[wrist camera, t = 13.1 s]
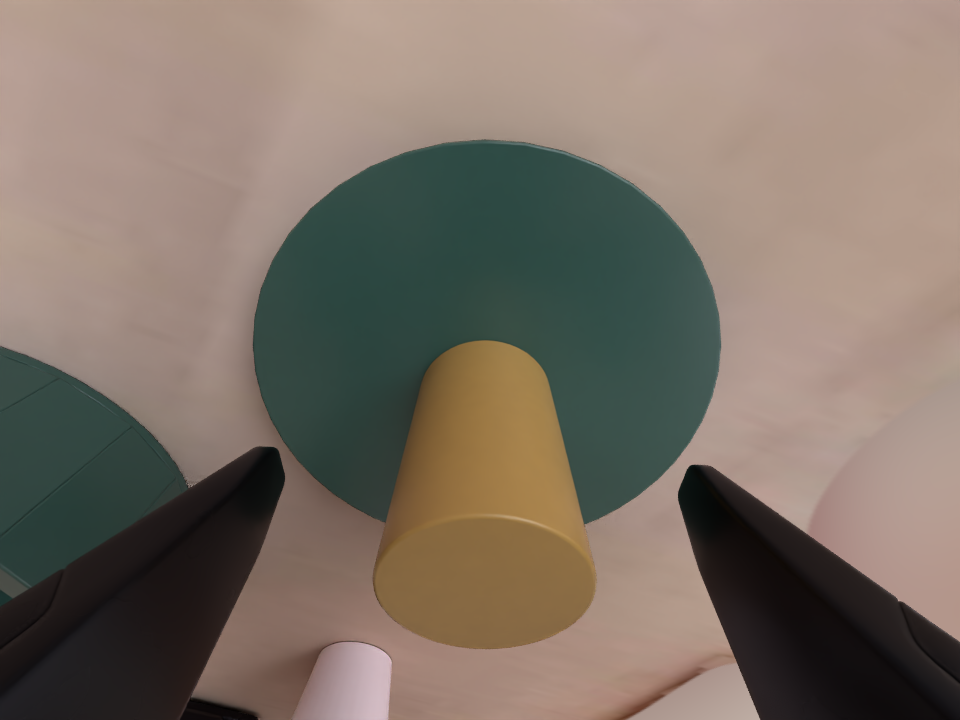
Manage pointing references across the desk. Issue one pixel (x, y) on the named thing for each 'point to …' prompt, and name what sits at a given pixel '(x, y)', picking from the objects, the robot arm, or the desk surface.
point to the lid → (486, 372)
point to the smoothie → (347, 684)
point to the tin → (68, 471)
